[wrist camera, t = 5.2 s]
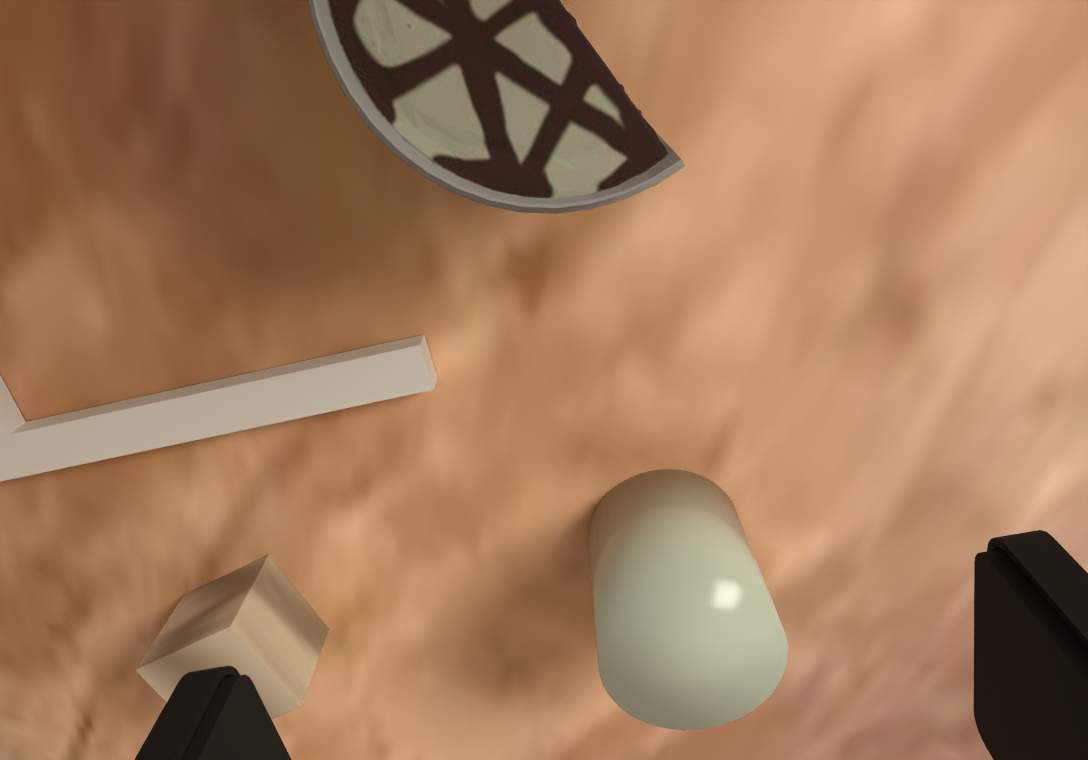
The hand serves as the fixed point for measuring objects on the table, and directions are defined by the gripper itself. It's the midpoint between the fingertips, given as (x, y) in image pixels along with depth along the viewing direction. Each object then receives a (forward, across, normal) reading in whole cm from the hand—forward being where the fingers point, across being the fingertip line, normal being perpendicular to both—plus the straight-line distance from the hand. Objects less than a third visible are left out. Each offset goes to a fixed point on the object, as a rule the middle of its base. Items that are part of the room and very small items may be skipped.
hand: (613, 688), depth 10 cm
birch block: (+23, +19, +15) cm, 33 cm away
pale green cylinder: (+23, -1, +15) cm, 27 cm away
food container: (+23, +2, -7) cm, 25 cm away
